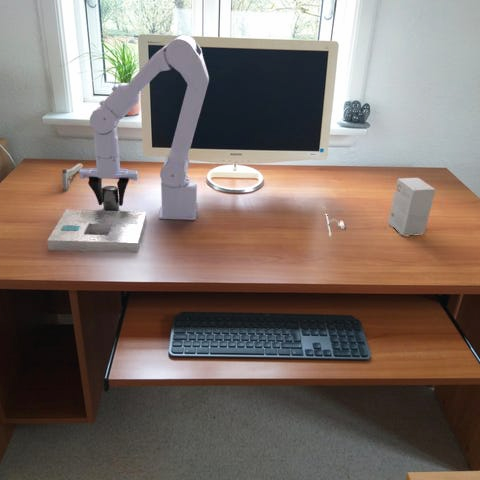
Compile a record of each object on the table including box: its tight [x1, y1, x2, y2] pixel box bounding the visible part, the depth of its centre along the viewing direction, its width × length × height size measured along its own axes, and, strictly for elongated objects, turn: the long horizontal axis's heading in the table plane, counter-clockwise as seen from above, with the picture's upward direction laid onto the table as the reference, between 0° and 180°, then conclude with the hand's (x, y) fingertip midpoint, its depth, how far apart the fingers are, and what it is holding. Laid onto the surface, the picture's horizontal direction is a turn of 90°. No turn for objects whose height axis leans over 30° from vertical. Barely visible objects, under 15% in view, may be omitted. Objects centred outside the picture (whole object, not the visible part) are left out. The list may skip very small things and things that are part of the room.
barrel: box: [102, 185, 120, 211], centre depth 132 cm, size 4×4×6 cm
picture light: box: [324, 213, 345, 238], centre depth 132 cm, size 14×4×2 cm, turn 176°
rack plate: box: [46, 208, 148, 253], centre depth 121 cm, size 20×16×3 cm
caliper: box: [61, 163, 84, 191], centre depth 150 cm, size 20×1×6 cm, turn 3°
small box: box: [387, 177, 436, 237], centre depth 130 cm, size 8×6×13 cm
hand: (111, 203), depth 133 cm, fingers open, 5 cm apart
